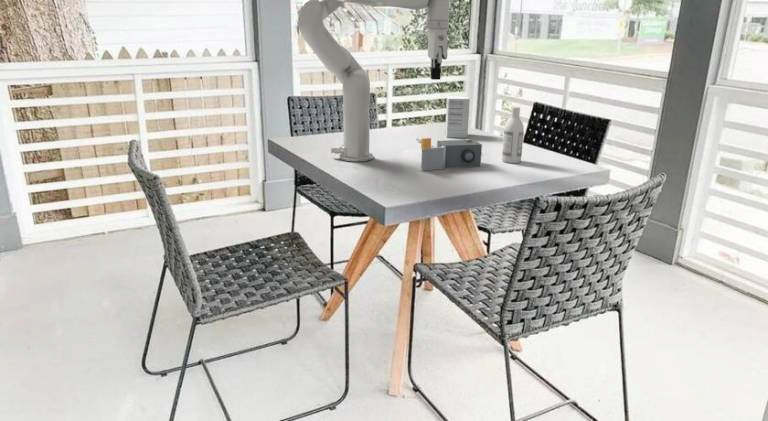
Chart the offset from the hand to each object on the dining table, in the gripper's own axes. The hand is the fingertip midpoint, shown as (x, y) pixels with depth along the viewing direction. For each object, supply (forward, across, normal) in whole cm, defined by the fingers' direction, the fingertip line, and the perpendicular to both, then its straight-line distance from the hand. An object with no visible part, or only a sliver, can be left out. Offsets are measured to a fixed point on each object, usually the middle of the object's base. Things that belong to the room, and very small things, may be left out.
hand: (435, 79), depth 212 cm
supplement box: (+29, +39, -21) cm, 53 cm away
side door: (+29, -16, +4) cm, 33 cm away
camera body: (+29, -10, -7) cm, 32 cm away
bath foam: (+29, -8, -28) cm, 41 cm away
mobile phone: (+30, +7, -8) cm, 32 cm away
